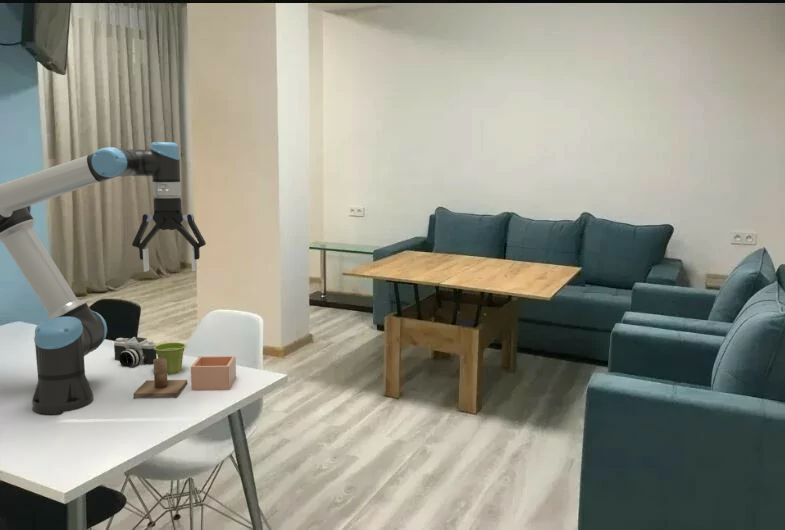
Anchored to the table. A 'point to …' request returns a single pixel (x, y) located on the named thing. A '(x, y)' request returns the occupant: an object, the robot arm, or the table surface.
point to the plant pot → (171, 355)
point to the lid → (160, 383)
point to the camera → (134, 351)
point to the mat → (163, 397)
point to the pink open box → (213, 373)
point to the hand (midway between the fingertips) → (170, 270)
